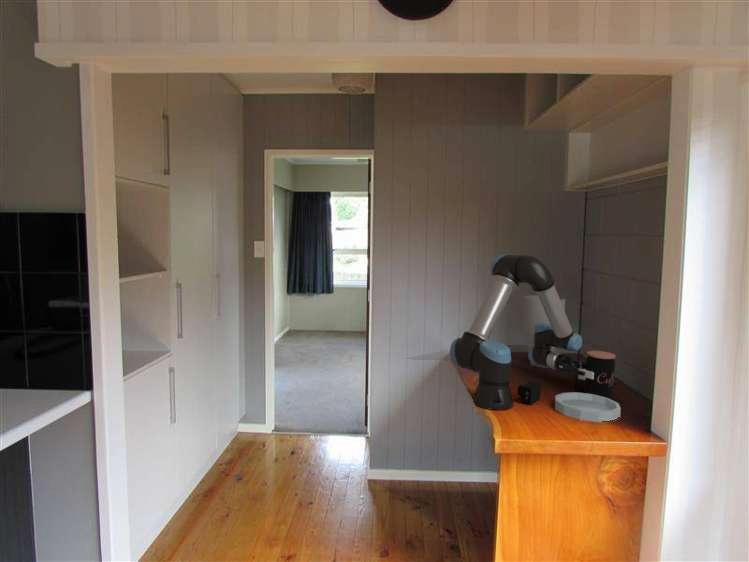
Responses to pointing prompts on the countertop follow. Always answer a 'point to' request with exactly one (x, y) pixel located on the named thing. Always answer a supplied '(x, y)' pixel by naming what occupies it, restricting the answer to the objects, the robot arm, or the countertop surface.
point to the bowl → (587, 407)
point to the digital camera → (529, 392)
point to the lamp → (535, 318)
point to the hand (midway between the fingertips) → (603, 373)
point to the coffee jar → (600, 373)
